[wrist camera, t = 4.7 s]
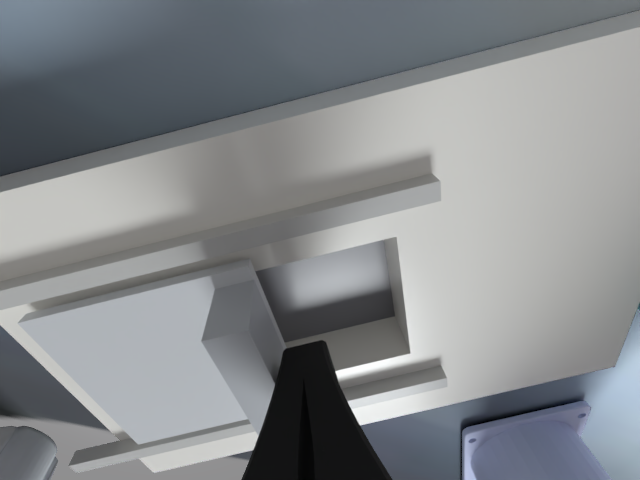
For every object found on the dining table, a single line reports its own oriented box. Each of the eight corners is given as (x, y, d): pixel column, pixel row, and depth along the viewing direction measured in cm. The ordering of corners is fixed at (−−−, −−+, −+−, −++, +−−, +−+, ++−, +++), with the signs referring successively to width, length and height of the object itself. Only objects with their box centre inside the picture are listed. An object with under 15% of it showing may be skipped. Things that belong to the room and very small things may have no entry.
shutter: (306, 395, 13) (311, 459, 11) (141, 434, 14) (116, 503, 12) (249, 258, 10) (242, 315, 8) (26, 313, 10) (-40, 383, 8)
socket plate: (573, 326, 17) (626, 378, 15) (133, 429, 18) (108, 496, 15) (655, 6, 10) (790, -7, 7) (-89, 199, 11) (-210, 251, 8)
